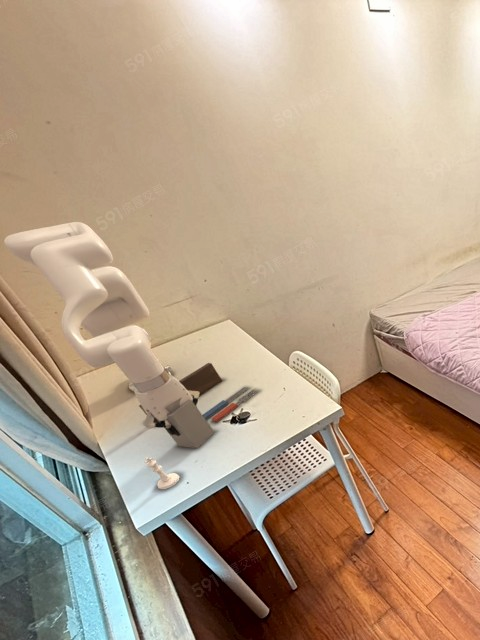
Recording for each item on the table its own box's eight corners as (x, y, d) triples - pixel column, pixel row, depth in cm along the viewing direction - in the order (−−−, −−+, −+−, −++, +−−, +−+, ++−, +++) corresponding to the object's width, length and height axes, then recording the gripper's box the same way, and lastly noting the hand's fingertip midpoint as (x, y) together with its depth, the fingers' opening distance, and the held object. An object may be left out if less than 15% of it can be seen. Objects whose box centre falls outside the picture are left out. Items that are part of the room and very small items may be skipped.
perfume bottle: (197, 448, 115) (162, 404, 104) (178, 445, 117) (142, 401, 106) (214, 432, 121) (183, 388, 110) (196, 429, 122) (163, 386, 111)
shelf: (147, 421, 126) (131, 403, 121) (213, 378, 143) (201, 360, 138) (156, 425, 124) (141, 406, 120) (222, 380, 142) (211, 363, 137)
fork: (212, 420, 125) (210, 418, 124) (252, 390, 137) (251, 388, 136) (217, 422, 124) (216, 420, 124) (258, 392, 136) (257, 389, 135)
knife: (200, 419, 126) (198, 417, 125) (244, 388, 138) (242, 385, 137) (204, 421, 125) (203, 419, 124) (248, 389, 137) (247, 387, 137)
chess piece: (154, 486, 105) (130, 462, 99) (171, 472, 109) (150, 448, 102) (166, 491, 103) (143, 467, 97) (183, 477, 107) (162, 453, 101)
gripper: (173, 359, 112) (205, 405, 123) (108, 397, 99) (150, 444, 110) (191, 364, 109) (221, 410, 120) (126, 403, 97) (167, 450, 108)
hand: (187, 426), depth 115 cm, fingers closed on perfume bottle, 6 cm apart
